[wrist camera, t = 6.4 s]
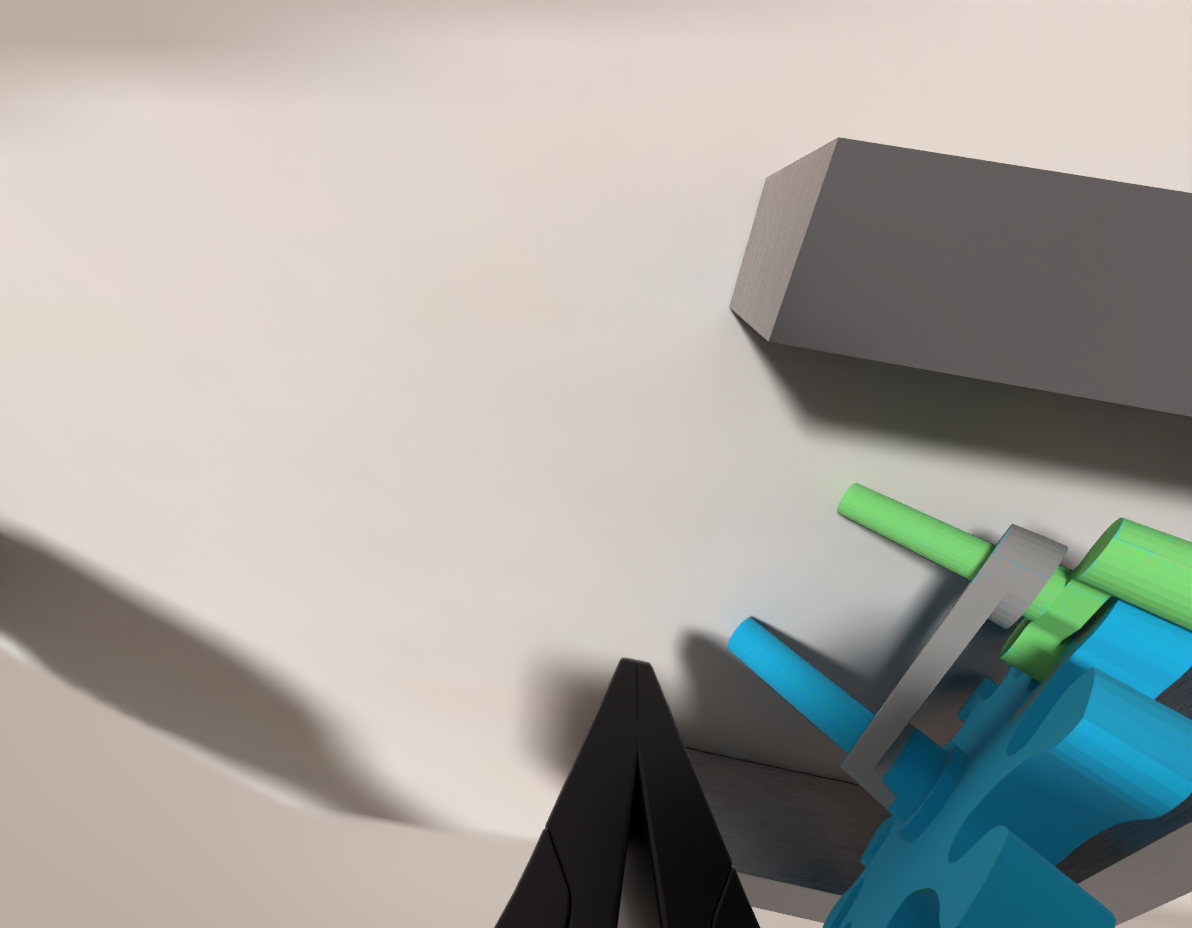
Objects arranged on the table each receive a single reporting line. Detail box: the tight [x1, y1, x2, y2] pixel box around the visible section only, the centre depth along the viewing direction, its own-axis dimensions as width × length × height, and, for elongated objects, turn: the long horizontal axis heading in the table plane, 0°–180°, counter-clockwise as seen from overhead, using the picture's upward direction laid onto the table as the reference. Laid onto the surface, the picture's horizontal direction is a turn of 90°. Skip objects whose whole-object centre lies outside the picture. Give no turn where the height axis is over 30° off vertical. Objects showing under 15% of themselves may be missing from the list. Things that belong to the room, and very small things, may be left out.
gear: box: [727, 483, 1192, 928], centre depth 9 cm, size 11×6×10 cm
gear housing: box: [686, 137, 1192, 926], centre depth 10 cm, size 13×18×3 cm
